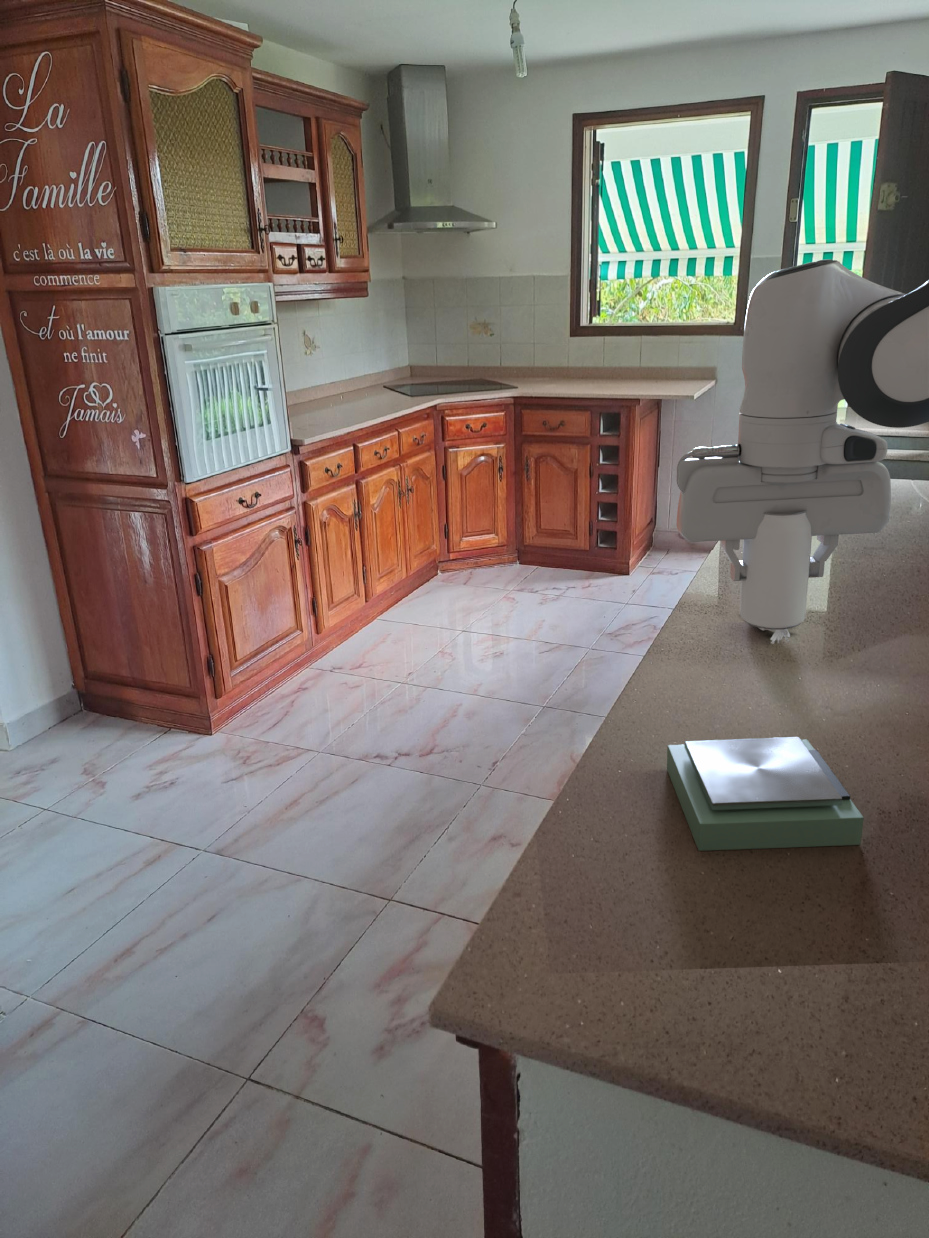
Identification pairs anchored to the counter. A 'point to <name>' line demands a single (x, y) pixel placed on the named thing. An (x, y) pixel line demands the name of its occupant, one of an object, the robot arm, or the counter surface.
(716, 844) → the scale
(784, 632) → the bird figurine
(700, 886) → the counter surface
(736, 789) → the scale pan
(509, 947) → the counter surface
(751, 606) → the can
